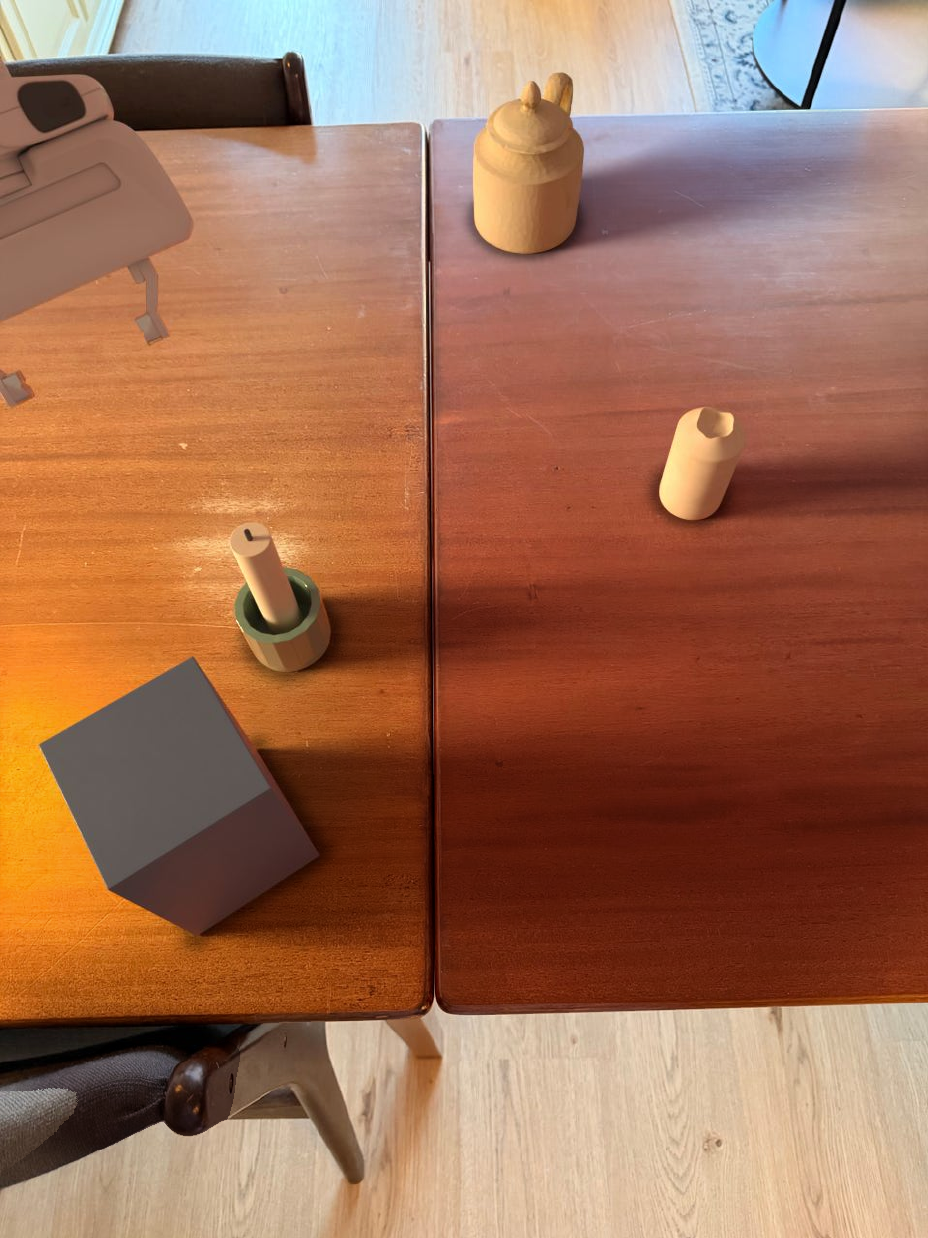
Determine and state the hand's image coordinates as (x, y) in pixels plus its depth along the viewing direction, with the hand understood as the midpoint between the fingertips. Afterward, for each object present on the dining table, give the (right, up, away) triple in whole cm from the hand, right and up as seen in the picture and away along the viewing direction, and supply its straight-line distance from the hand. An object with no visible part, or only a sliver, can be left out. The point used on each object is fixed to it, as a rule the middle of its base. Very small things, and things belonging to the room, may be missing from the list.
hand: (92, 371), depth 58 cm
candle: (+44, -5, +22) cm, 49 cm away
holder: (+10, -17, +16) cm, 26 cm away
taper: (+10, -17, +16) cm, 25 cm away
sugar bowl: (+30, +29, +40) cm, 58 cm away
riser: (+6, -32, +9) cm, 34 cm away
